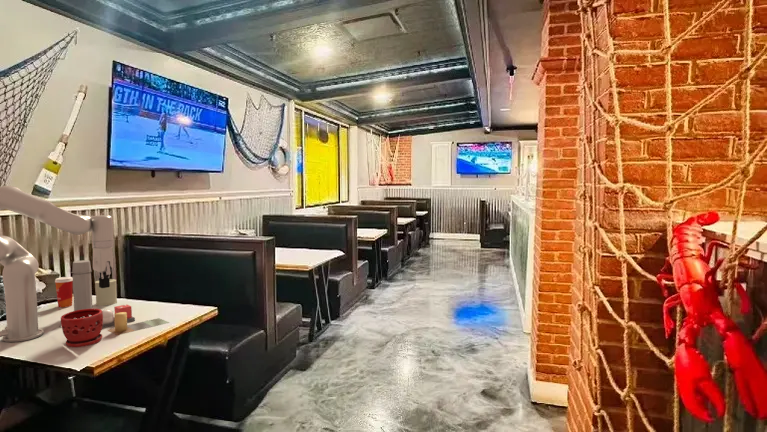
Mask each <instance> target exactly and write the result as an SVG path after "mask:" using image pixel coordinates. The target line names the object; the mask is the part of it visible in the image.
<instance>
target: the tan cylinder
mask: <svg viewBox="0 0 767 432" xmlns="http://www.w3.org/2000/svg"><path fill="white" fill-rule="evenodd" d="M113 315H114V321H115V325H114V328H115V332H123V331H126V330H127V325H128V323H127V313H126V312H120V313H116V314H115V313H113Z"/></svg>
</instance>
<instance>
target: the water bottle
mask: <svg viewBox="0 0 767 432" xmlns="http://www.w3.org/2000/svg"><path fill="white" fill-rule="evenodd" d="M70 273H71V274H72V278H73V297H72V298H73V311H76V310H82V309H93V294H92V292H93V291H92V290H93V289H92V288H93V287H92V286H93V285H92V267H91V260H88V259H85V260H83V259H82V260H75V261H73V262H72V269H71V272H70Z"/></svg>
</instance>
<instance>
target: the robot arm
mask: <svg viewBox="0 0 767 432" xmlns="http://www.w3.org/2000/svg"><path fill="white" fill-rule="evenodd" d="M4 210H8V211H11V212H12V213H13V212H14V213H16V214H19V215H21V216H22V215H23V216H25V217H27V218H31V219H32V220H36V221H38V222H40V223H43V224H45V225H48V226H50V227H52V228H53V227H54V228H55V229H58V230H61V231H63V232H66V233H70V234H73V235H78V236H79V235H81V236H82V235H84V234H86V233H89V232H91V239H92V240H91V241H92V242H91V243H92V249H93V250H92V252H93V253H92V271H95V272H97V273H98V281H99V287H100V288H107V287H110V280H109V279H111V278H110V276H111V273H112V271H114V256H113V255H114V254H113V248H114V224H113V223H114V222H113V219H114V218H113V216H111V215H107V214H104V215H103V214H100V215H99V214H98V215H86V214H85V215H84V214H75V213H72V212H70V211H67V210H65V209H62V208H61V207H58V206H56V205H55V204H54V203H52V202H51V201H49V200H47V199H44V198H41V197H39V196H36V195H33V194H31V193H28V192H26V191H23V190H21V188H19V187H17V186H13V185H3V186H2V185H1V186H0V211H4ZM0 265H1V266H3V269H2V274H1V276H2V283H3V287H4V298H5V314H6V315H5V316H6V326H5V327H4V329H2V330H1V331H0V338H1V339H2V341H3V342H6V343H17V342H25V341H30V340H32V339H33V340H34V339H36V338H38V337H41V336H42V335H43V334H44V330H43V329H40V328H39V318H38V316H39V315H38V298H37V297H38V296H37V285H36V273H37V272H38V270H39V265H40V264H39V262H38V259H37V258H36V257H35V256H34V255H32V253H30V252H29V251H28V250H27V249H25V247H23V246H22V245H21V244H20V243H18V242H17V240H15V239H13V238H12V237H10V236H7V235H0Z"/></svg>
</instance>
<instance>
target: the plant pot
mask: <svg viewBox="0 0 767 432" xmlns="http://www.w3.org/2000/svg"><path fill="white" fill-rule="evenodd" d="M102 311H103V310H102V309H100V308H92V309H82V310H76V311H74V310H73V311H70V312H67V313H64V314H62V315H61V317H60V324H61V330H62V333H63V335H64V337H65V338H66V340H65V344H66V346H67V347H70V348H81V347H87V346H91V345H94V344H97V343H99V342H100V341H101V340H102V338H103V334H102V333H101V332H102V330H103V328H102V326H103V313H102ZM96 322H97V324H96Z"/></svg>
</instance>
